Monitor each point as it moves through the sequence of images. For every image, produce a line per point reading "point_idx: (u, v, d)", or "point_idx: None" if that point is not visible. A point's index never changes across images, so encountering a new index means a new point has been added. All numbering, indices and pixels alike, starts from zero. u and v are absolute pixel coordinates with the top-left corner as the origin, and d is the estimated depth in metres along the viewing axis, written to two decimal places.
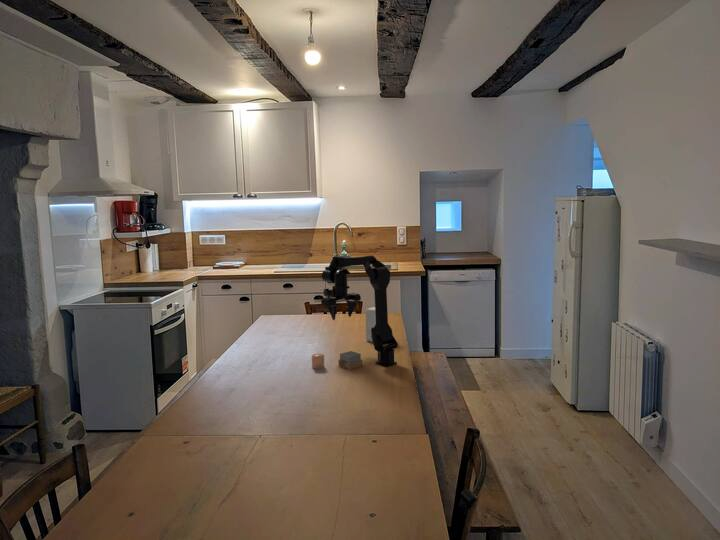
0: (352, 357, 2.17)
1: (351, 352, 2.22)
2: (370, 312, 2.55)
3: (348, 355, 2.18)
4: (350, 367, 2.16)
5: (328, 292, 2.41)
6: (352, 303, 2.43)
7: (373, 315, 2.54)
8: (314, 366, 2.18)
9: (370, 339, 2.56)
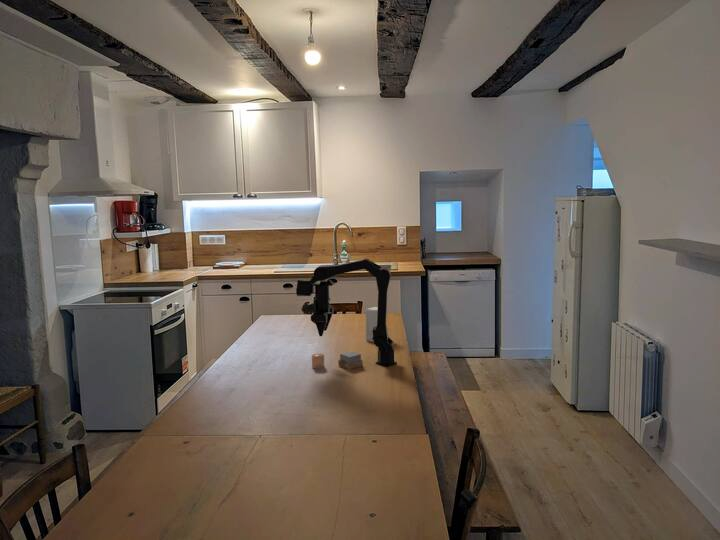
0: (352, 357, 2.17)
1: (351, 352, 2.22)
2: (370, 312, 2.55)
3: (348, 355, 2.18)
4: (350, 367, 2.16)
5: (309, 307, 2.19)
6: (329, 315, 2.28)
7: (373, 315, 2.54)
8: (314, 366, 2.18)
9: (370, 339, 2.56)
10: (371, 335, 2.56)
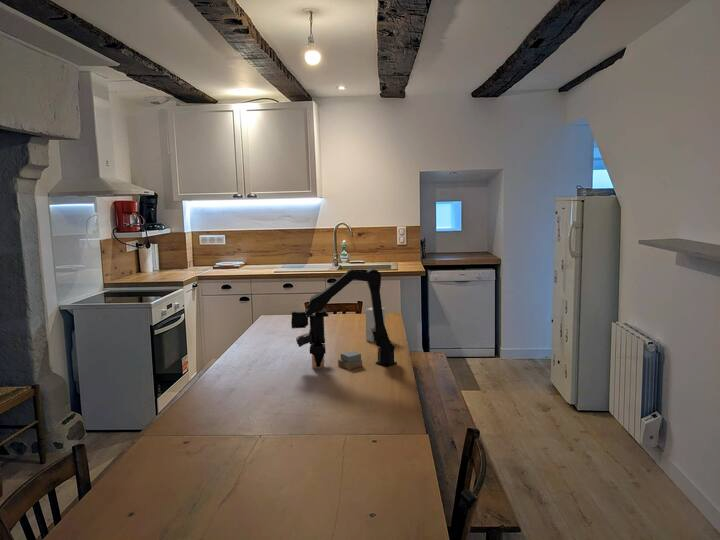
0: (352, 357, 2.18)
1: (352, 352, 2.23)
2: (370, 312, 2.55)
3: (348, 355, 2.18)
4: (350, 367, 2.16)
5: (305, 339, 2.14)
6: None
7: None
8: (314, 366, 2.18)
9: (370, 339, 2.56)
10: (371, 335, 2.56)
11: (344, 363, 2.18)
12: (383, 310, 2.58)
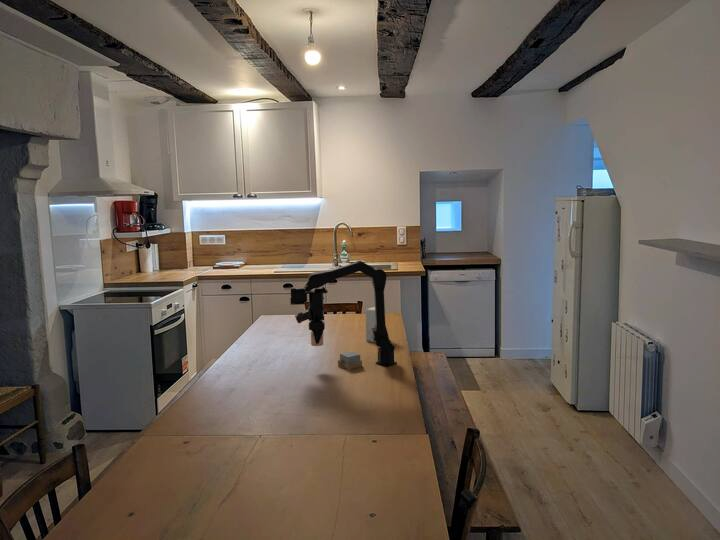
0: (351, 357, 2.17)
1: (351, 352, 2.22)
2: (370, 312, 2.55)
3: (347, 355, 2.18)
4: (349, 367, 2.16)
5: (305, 316, 2.13)
6: None
7: (373, 315, 2.54)
8: (313, 343, 2.16)
9: (370, 339, 2.56)
10: (371, 335, 2.56)
11: (344, 363, 2.18)
12: None
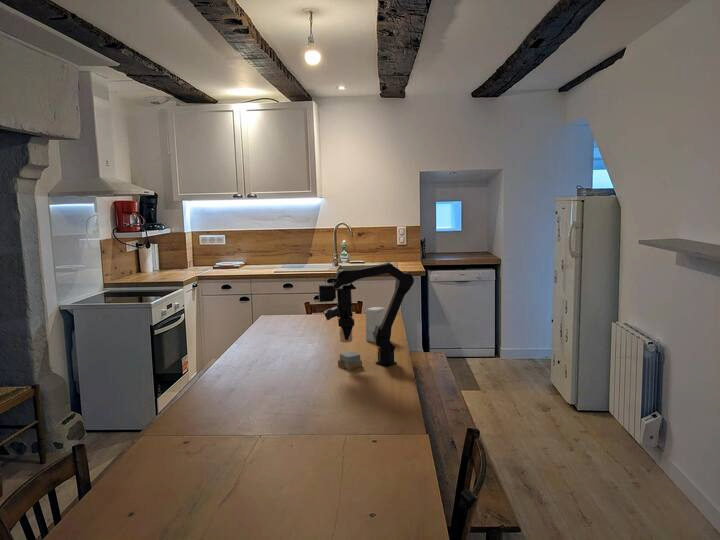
0: (351, 357, 2.17)
1: (351, 352, 2.22)
2: (370, 312, 2.55)
3: (347, 355, 2.18)
4: (349, 367, 2.16)
5: (334, 312, 2.14)
6: None
7: (373, 315, 2.54)
8: (342, 339, 2.17)
9: (370, 339, 2.56)
10: (371, 335, 2.56)
11: (344, 363, 2.18)
12: (383, 310, 2.58)
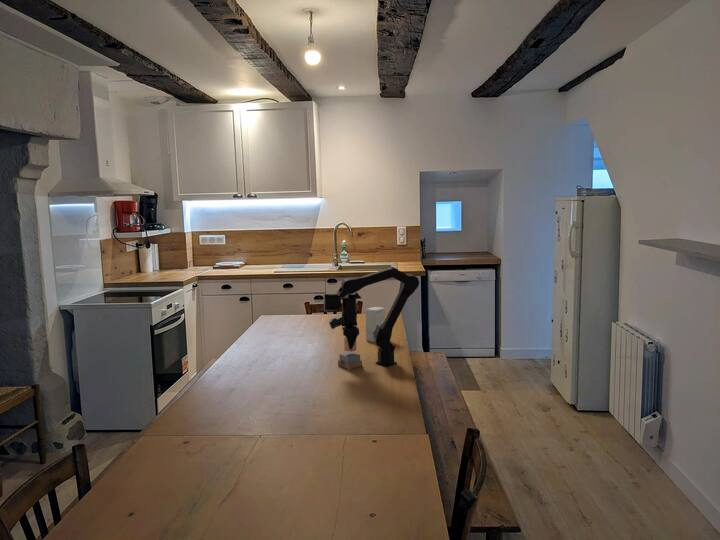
0: (351, 357, 2.17)
1: (351, 352, 2.22)
2: (370, 312, 2.55)
3: (347, 355, 2.18)
4: (349, 367, 2.16)
5: (338, 321, 2.14)
6: None
7: (373, 315, 2.54)
8: (346, 348, 2.18)
9: (370, 339, 2.56)
10: (371, 335, 2.56)
11: (344, 363, 2.18)
12: (383, 310, 2.58)
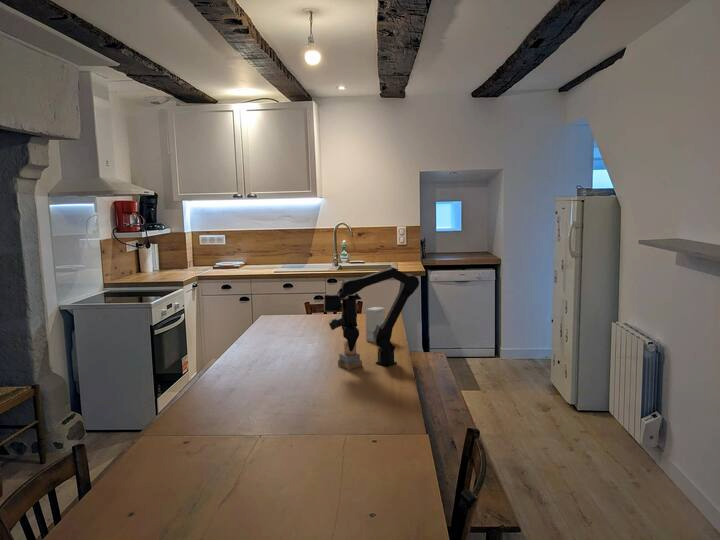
0: (351, 357, 2.17)
1: None
2: (370, 312, 2.55)
3: (346, 355, 2.18)
4: (349, 367, 2.16)
5: (338, 322, 2.14)
6: None
7: (373, 315, 2.54)
8: (346, 352, 2.18)
9: (370, 339, 2.56)
10: (371, 335, 2.56)
11: (344, 363, 2.18)
12: (383, 310, 2.58)
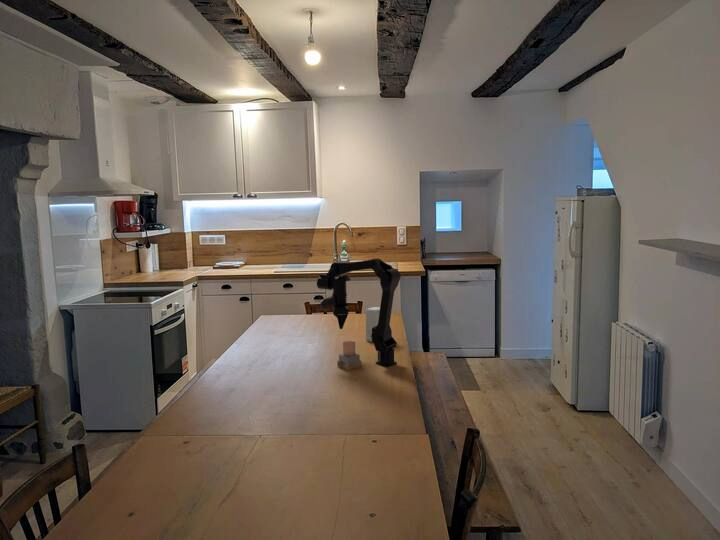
0: (351, 358, 2.16)
1: None
2: (370, 312, 2.55)
3: (346, 356, 2.17)
4: (349, 368, 2.15)
5: (329, 301, 2.28)
6: None
7: (373, 315, 2.54)
8: (346, 353, 2.17)
9: (370, 339, 2.56)
10: None
11: (343, 364, 2.17)
12: None
